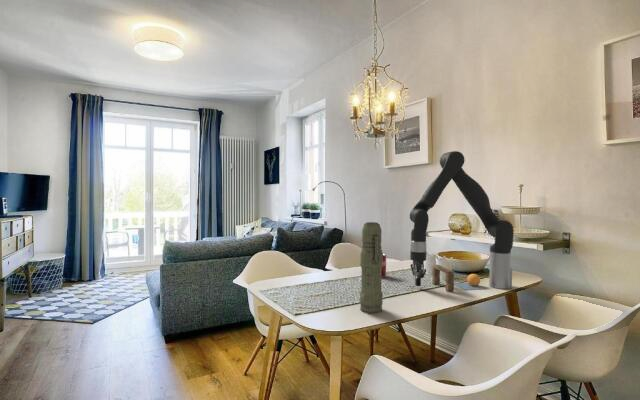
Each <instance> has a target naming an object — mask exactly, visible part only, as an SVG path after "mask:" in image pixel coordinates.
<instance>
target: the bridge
mask: <svg viewBox="0 0 640 400" xmlns="http://www.w3.org/2000/svg"><path fill="white" fill-rule="evenodd" d="M441 272H442V273H444V274H445V292H447V293H453V292H455V285H454V283H455V271H454V270H451V269H450V268H447V267H445V266H442V265H440V264H432V278H431V279H432V283H431V284H432V285H434V286H435V285H439V284H440V285H441V283H440V282H441Z"/></svg>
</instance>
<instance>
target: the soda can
mask: <svg viewBox="0 0 640 400" xmlns="http://www.w3.org/2000/svg"><path fill="white" fill-rule="evenodd" d="M386 276H387V255H386V254H385V253H383V267H382V269H381V279H382V278H386Z"/></svg>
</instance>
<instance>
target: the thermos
mask: <svg viewBox="0 0 640 400" xmlns="http://www.w3.org/2000/svg"><path fill="white" fill-rule="evenodd" d="M361 242H362V245H361V250H360V257H359V258H360V261H359V262H360V263H359V264H360V265H359V266H360V268H361V275H360V276H361V281H360V283H361V287H360V288H361V290H360V292H359V304H360V311H361V313H365V314H373V315H374V314H380V313H381V312H383V302H384V300H383V291H382V278H381V269H382V267H383V254H384V252H383V250H382V228H381V225H380V223H379V222H375V221H374V222H373V221H369V222H368V221H367V222H365V223H363V226H362V230H361Z"/></svg>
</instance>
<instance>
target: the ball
mask: <svg viewBox="0 0 640 400" xmlns="http://www.w3.org/2000/svg"><path fill="white" fill-rule="evenodd" d="M466 281H467V283H469V284H470V285H471V286H477V285H480V283H481V278H480V276H479V275H478V274H476V273H471V274H469V275H468V276H467V277H466Z"/></svg>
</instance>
